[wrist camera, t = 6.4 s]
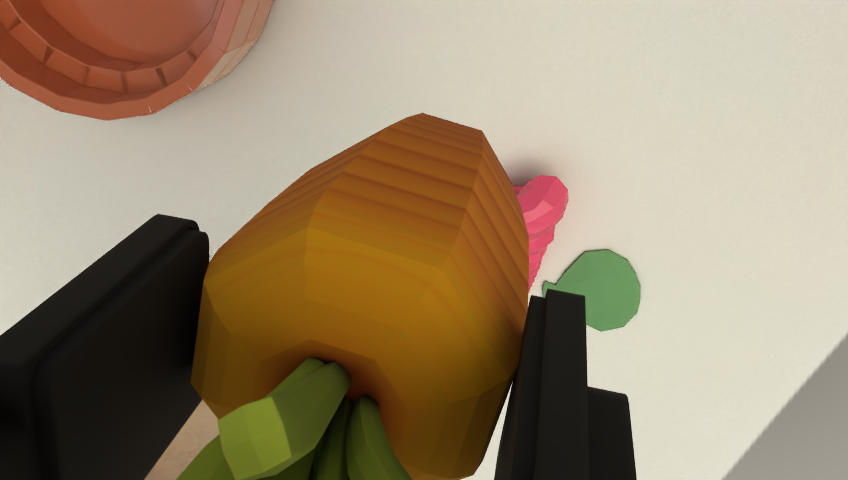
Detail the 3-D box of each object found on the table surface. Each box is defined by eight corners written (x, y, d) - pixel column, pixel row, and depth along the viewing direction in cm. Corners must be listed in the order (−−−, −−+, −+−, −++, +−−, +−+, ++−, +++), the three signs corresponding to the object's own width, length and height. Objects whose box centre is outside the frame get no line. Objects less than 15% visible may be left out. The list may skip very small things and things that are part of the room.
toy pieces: (385, 213, 40) (364, 247, 36) (587, 141, 37) (588, 171, 33) (470, 392, 44) (460, 440, 40) (661, 342, 41) (670, 390, 37)
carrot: (435, 10, 19) (74, 319, 5) (589, 134, 19) (616, 697, 6) (328, 157, 21) (-121, 642, 7) (469, 265, 21) (289, 895, 8)
